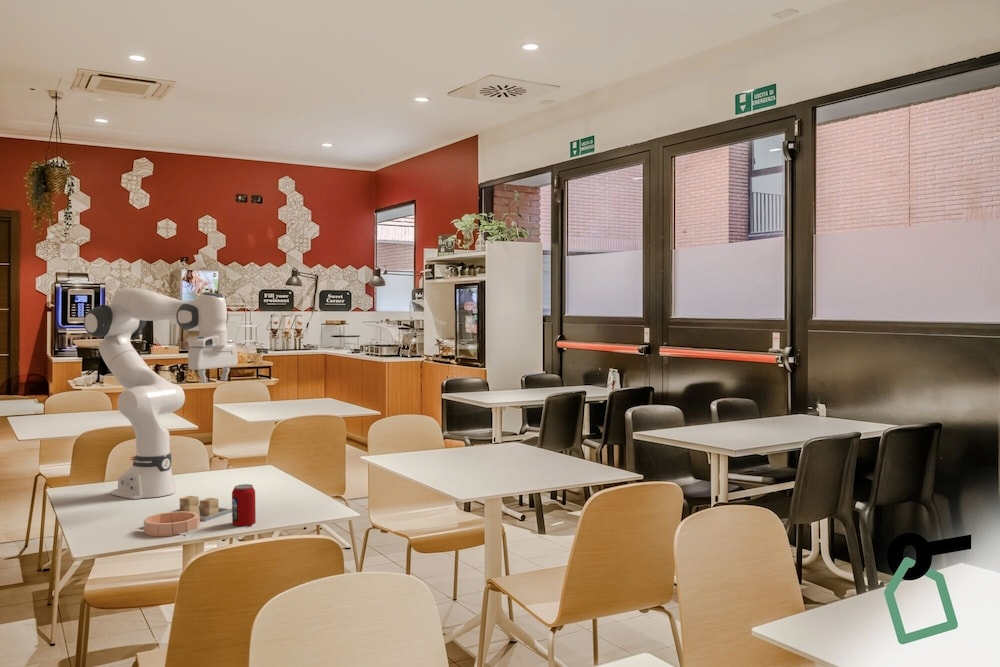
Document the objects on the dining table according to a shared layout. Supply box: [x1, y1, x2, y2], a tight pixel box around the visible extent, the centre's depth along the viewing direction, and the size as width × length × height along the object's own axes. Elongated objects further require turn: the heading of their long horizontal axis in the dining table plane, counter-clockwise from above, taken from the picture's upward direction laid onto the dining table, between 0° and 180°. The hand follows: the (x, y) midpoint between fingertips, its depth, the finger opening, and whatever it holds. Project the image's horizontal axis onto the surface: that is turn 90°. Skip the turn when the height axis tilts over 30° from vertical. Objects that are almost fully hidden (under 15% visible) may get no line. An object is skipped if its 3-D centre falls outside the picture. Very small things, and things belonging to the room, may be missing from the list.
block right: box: [199, 497, 220, 517], centre depth 256 cm, size 4×4×5 cm
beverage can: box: [231, 483, 257, 528], centre depth 245 cm, size 7×7×12 cm
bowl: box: [143, 511, 201, 538], centre depth 241 cm, size 15×15×4 cm
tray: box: [170, 506, 232, 522], centre depth 257 cm, size 16×12×2 cm
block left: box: [179, 495, 199, 513], centre depth 259 cm, size 4×4×5 cm
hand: (214, 381), depth 272 cm, fingers open, 8 cm apart
